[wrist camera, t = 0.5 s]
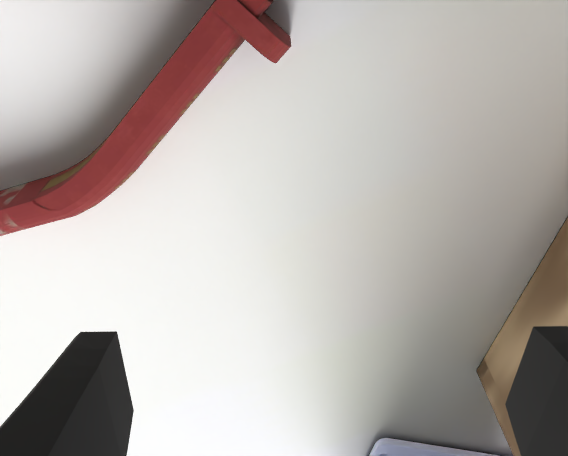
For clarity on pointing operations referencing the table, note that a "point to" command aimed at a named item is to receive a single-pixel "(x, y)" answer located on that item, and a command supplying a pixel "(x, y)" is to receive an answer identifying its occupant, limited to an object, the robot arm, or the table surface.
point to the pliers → (147, 116)
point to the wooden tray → (526, 328)
